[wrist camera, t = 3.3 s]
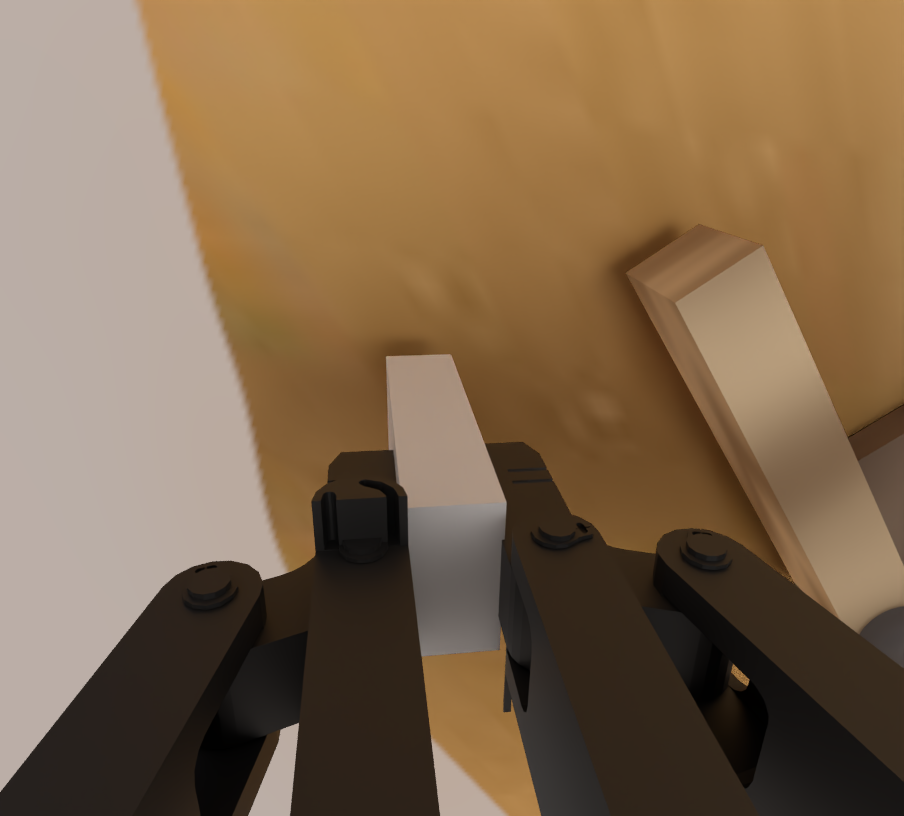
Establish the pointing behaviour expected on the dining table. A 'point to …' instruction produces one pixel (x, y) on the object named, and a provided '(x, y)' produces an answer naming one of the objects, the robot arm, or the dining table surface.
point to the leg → (776, 424)
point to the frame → (885, 469)
